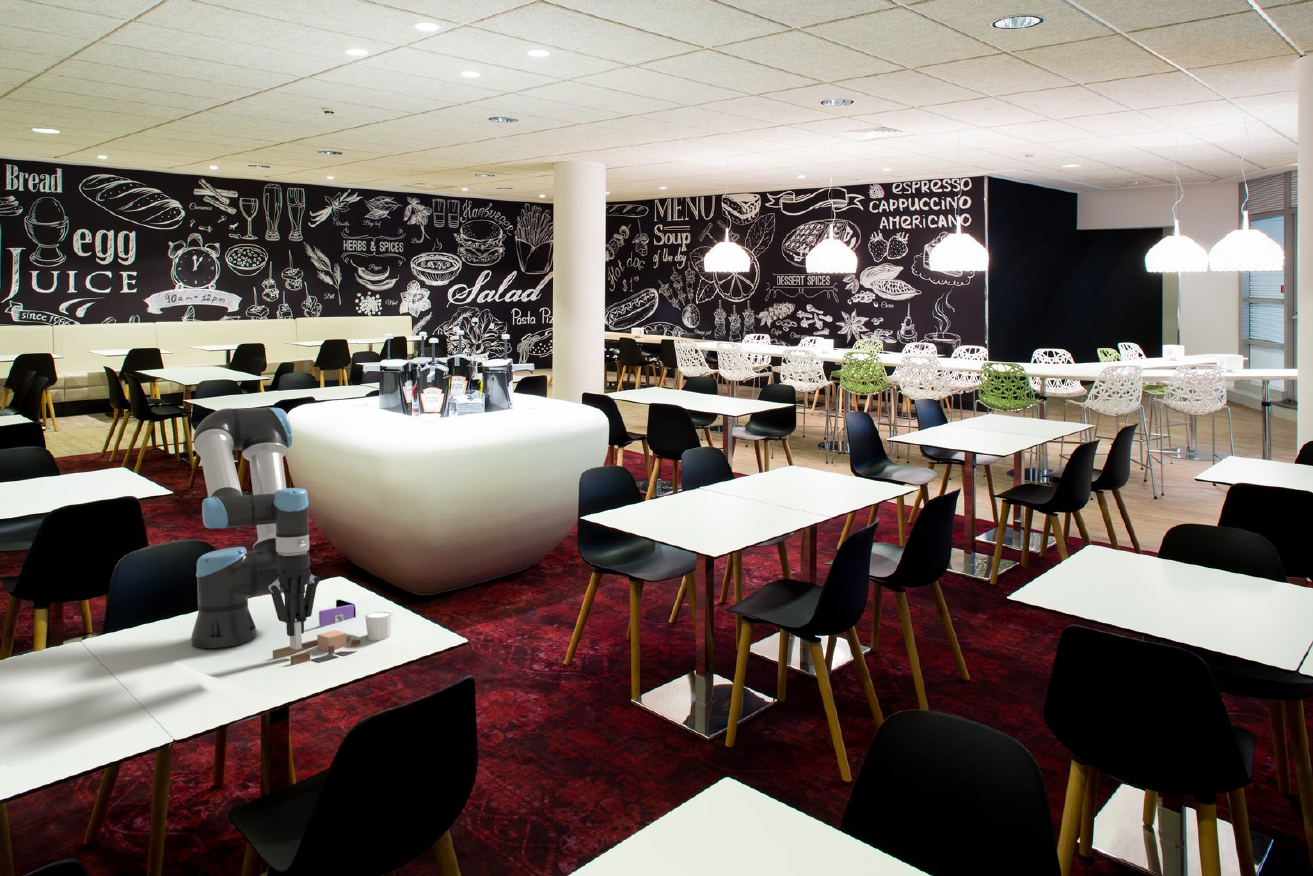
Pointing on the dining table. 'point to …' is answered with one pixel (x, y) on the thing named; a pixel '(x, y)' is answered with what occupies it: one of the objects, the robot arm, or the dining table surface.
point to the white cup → (379, 625)
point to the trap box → (310, 644)
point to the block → (332, 640)
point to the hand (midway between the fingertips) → (295, 647)
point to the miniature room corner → (337, 613)
